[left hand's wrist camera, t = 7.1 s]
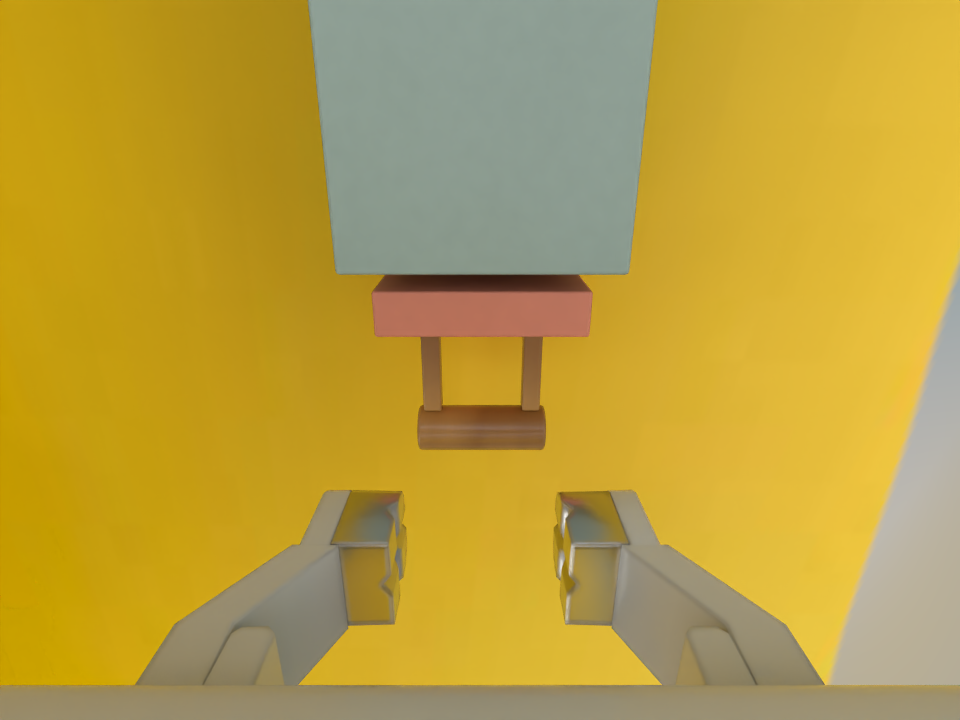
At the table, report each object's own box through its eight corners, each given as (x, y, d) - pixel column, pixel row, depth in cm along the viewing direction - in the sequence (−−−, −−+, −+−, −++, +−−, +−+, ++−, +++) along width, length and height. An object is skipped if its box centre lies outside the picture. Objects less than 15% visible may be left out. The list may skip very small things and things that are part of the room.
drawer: (543, 386, 23) (575, 507, 15) (419, 386, 23) (387, 507, 15) (586, -492, 14) (725, -1340, 6) (378, -492, 14) (243, -1337, 6)
